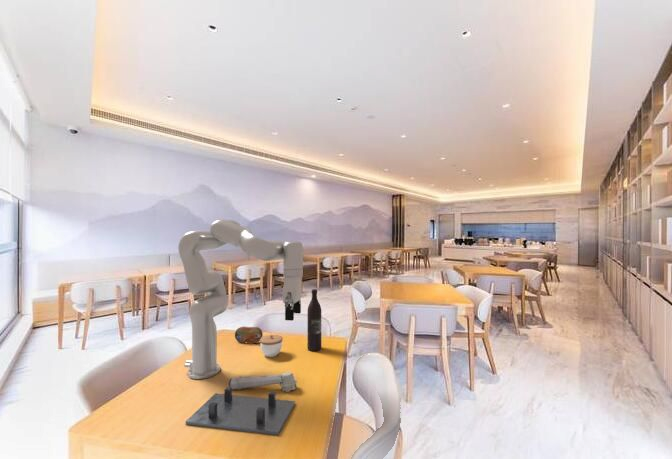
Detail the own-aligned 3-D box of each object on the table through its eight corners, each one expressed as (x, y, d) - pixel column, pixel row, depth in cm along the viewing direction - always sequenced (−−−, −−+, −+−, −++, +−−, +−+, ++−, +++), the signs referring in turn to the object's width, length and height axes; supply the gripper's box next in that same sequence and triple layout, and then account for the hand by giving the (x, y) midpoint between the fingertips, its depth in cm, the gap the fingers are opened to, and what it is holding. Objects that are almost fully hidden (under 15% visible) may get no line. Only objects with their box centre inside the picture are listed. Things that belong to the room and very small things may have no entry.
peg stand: (185, 424, 91) (185, 408, 91) (215, 396, 107) (215, 382, 107) (278, 435, 86) (278, 418, 86) (295, 404, 102) (295, 389, 102)
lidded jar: (256, 354, 144) (256, 334, 144) (275, 348, 151) (275, 329, 151) (267, 361, 136) (267, 340, 136) (286, 354, 143) (286, 335, 143)
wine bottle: (310, 352, 145) (310, 291, 145) (305, 347, 152) (305, 289, 152) (323, 350, 148) (323, 290, 148) (318, 345, 154) (318, 288, 155)
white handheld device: (232, 375, 115) (296, 366, 114) (234, 392, 115) (298, 383, 114) (227, 381, 110) (293, 373, 109) (229, 399, 110) (296, 391, 109)
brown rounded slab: (234, 342, 159) (234, 327, 159) (237, 340, 162) (237, 325, 162) (260, 344, 156) (260, 328, 156) (263, 342, 159) (263, 326, 159)
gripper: (290, 269, 125) (290, 310, 125) (276, 275, 108) (276, 322, 108) (307, 270, 124) (308, 311, 124) (296, 276, 107) (296, 323, 107)
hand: (293, 316), depth 116 cm, fingers open, 9 cm apart
